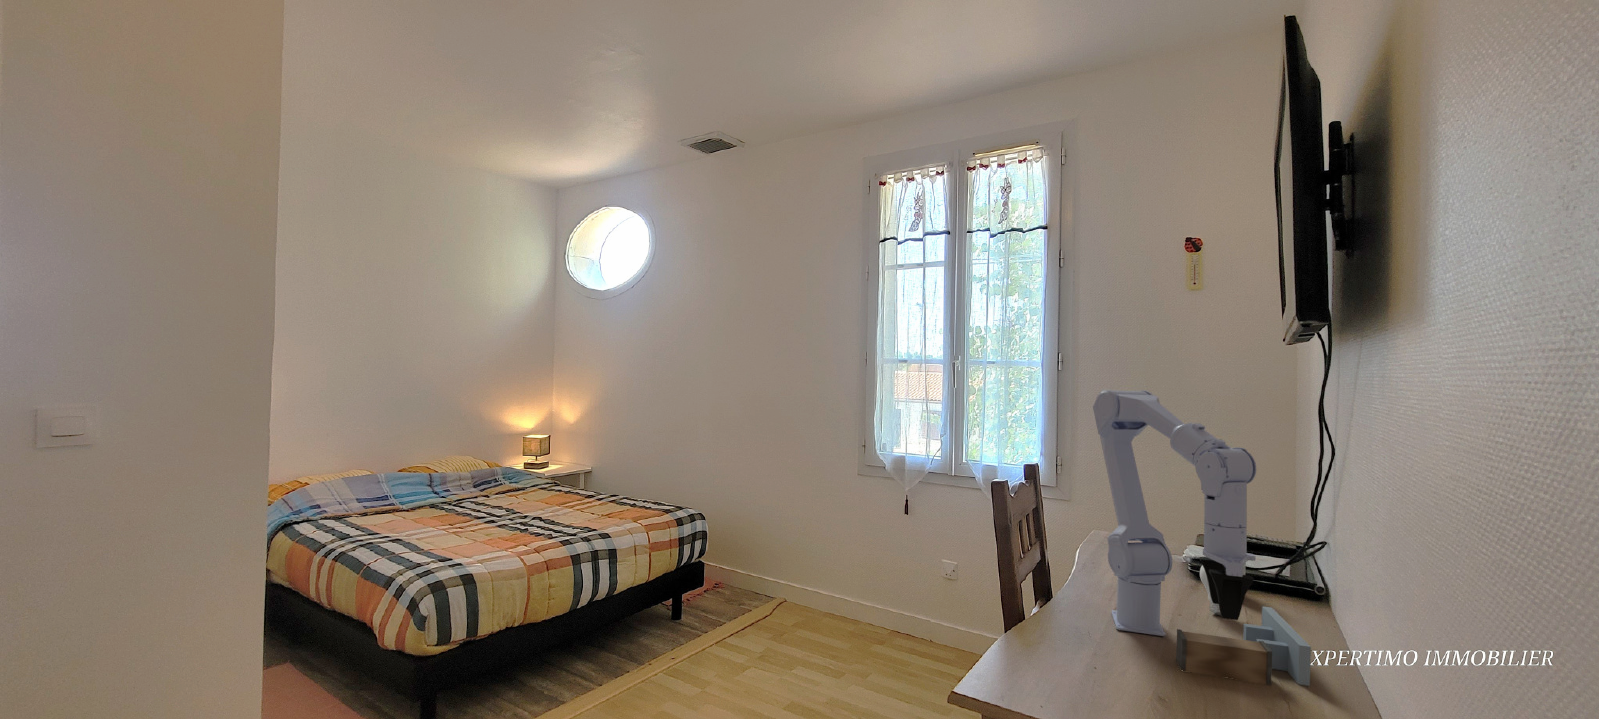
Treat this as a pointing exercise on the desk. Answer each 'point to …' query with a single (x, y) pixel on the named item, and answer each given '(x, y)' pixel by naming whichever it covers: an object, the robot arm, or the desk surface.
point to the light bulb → (1213, 607)
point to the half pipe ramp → (1224, 657)
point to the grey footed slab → (1282, 645)
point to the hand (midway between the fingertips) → (1224, 610)
